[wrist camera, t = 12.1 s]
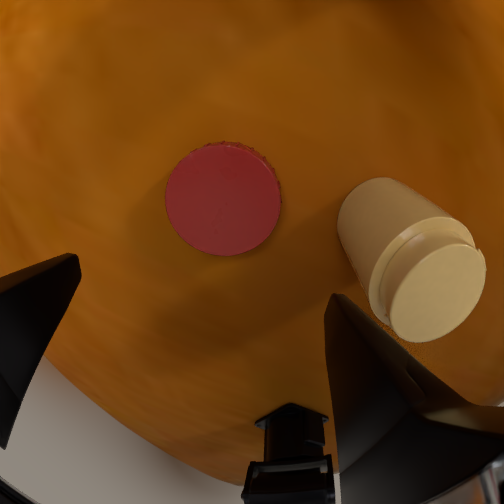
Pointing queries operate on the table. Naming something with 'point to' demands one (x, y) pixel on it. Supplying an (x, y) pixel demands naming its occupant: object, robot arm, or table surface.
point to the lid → (223, 198)
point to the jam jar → (410, 259)
